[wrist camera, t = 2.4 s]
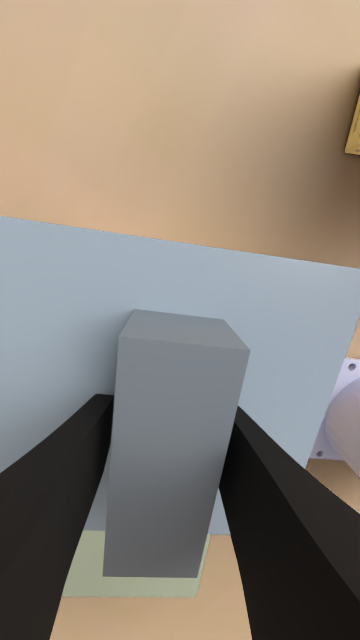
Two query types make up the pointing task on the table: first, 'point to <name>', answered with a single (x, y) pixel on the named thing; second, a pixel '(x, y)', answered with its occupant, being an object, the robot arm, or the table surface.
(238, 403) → the lid
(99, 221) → the table surface
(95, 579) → the mat
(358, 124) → the candy box
